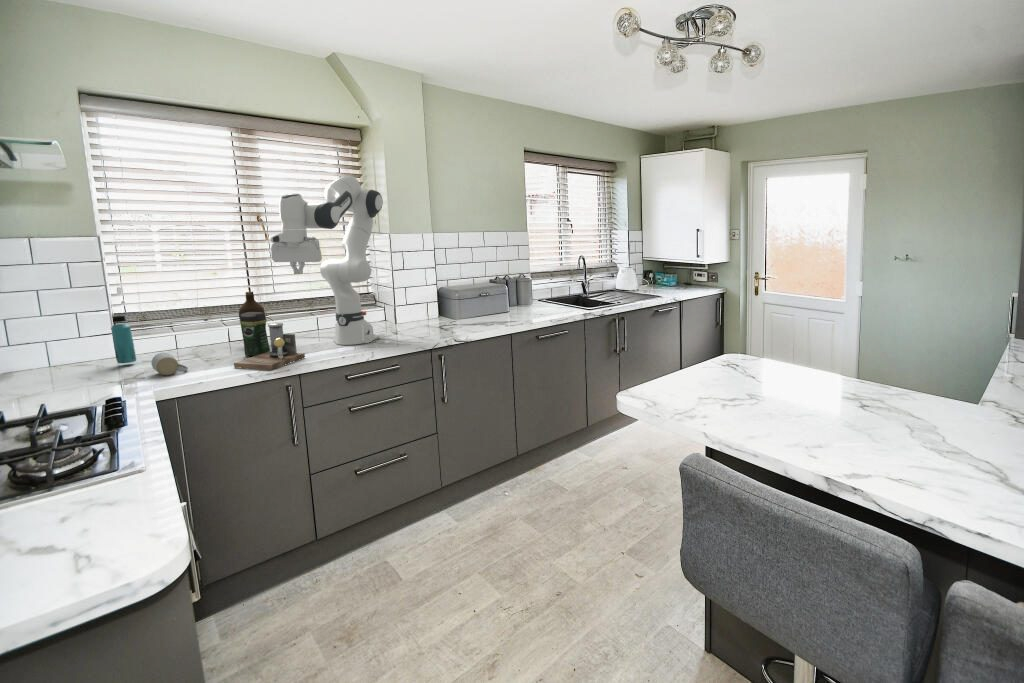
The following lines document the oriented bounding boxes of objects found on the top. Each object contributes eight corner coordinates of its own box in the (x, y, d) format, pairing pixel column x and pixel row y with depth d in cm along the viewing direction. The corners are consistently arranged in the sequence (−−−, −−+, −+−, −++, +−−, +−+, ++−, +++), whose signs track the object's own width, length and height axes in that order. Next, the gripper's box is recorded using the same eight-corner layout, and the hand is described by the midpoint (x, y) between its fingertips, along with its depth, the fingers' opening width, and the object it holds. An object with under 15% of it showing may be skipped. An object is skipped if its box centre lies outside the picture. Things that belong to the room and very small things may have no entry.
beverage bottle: (141, 363, 214) (133, 314, 210) (124, 367, 208) (116, 317, 204) (129, 362, 216) (121, 314, 212) (113, 366, 210) (104, 316, 206)
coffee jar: (273, 353, 228) (268, 310, 224) (260, 357, 221) (255, 313, 217) (254, 352, 231) (249, 310, 227) (241, 356, 223) (235, 313, 219)
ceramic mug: (157, 378, 192) (155, 357, 191) (152, 374, 198) (149, 353, 196) (190, 372, 200) (188, 352, 198) (185, 369, 205) (182, 349, 204)
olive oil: (246, 349, 236) (239, 293, 231) (240, 346, 244) (233, 292, 239) (271, 346, 243) (265, 291, 238) (264, 342, 251) (258, 290, 246)
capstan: (269, 354, 217) (265, 323, 215) (287, 352, 220) (284, 322, 218) (271, 364, 200) (268, 331, 197) (291, 362, 203) (288, 329, 200)
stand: (270, 355, 224) (267, 332, 222) (305, 357, 219) (303, 334, 217) (234, 367, 205) (231, 342, 203) (271, 370, 200) (268, 344, 198)
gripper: (323, 237, 202) (326, 273, 205) (278, 237, 208) (282, 273, 211) (313, 237, 196) (316, 274, 199) (266, 238, 202) (271, 274, 205)
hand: (298, 274), depth 205 cm, fingers closed
